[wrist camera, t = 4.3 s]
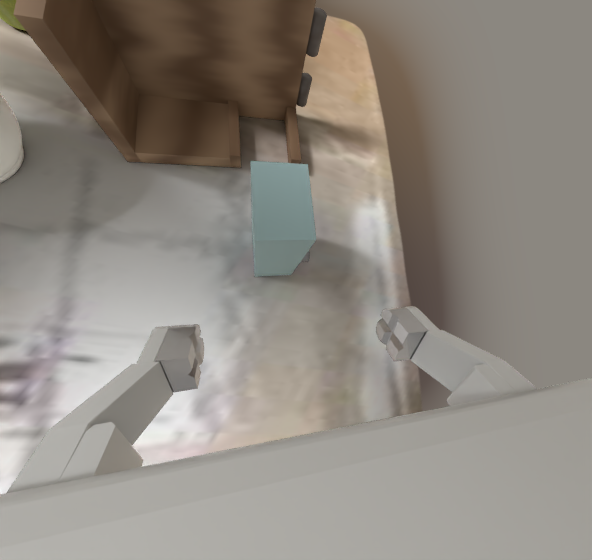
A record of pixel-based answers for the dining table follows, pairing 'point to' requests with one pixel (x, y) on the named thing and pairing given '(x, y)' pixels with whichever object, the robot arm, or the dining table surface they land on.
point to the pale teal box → (281, 217)
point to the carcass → (181, 69)
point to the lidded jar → (9, 142)
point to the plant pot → (9, 13)
